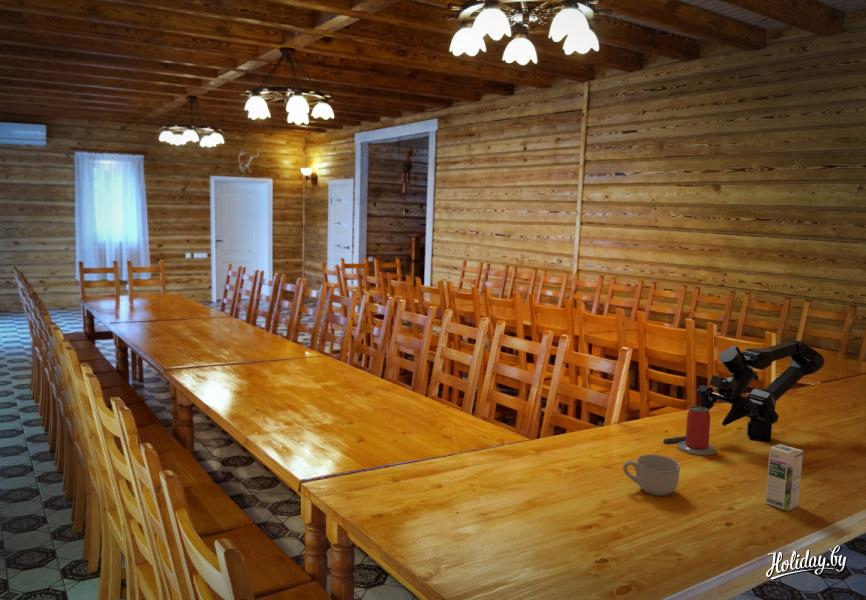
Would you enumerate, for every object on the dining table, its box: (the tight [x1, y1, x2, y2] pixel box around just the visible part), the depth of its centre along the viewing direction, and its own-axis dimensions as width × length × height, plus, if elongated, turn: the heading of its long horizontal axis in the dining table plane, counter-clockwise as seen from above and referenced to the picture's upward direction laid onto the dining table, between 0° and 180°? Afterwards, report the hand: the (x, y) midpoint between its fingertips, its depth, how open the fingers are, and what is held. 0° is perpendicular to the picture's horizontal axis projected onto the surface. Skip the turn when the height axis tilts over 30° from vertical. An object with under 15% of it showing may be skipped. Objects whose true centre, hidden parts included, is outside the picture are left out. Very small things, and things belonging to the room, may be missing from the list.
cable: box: [662, 435, 686, 445], centre depth 211 cm, size 11×2×2 cm, turn 111°
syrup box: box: [764, 443, 804, 512], centre depth 163 cm, size 6×6×14 cm
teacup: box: [622, 453, 681, 497], centre depth 172 cm, size 14×11×8 cm
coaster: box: [676, 441, 717, 456], centre depth 204 cm, size 11×11×1 cm
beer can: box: [685, 405, 711, 450], centre depth 203 cm, size 7×7×12 cm
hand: (710, 420), depth 205 cm, fingers open, 9 cm apart
